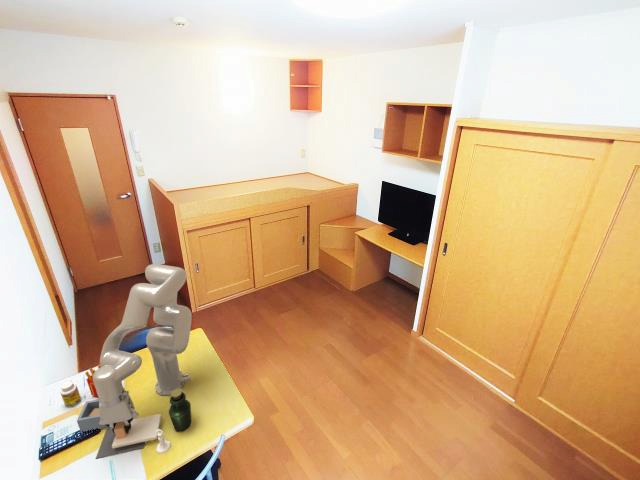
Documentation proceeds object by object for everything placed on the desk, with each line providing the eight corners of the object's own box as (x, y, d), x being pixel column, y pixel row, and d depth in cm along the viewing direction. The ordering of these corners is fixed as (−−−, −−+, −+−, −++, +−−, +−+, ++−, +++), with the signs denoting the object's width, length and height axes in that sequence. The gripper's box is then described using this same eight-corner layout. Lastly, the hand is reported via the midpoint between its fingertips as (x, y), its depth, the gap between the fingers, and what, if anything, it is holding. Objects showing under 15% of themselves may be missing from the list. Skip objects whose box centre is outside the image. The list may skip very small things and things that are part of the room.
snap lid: (161, 416, 129) (158, 405, 126) (156, 438, 120) (153, 427, 118) (120, 424, 125) (117, 413, 122) (112, 448, 116) (108, 437, 114)
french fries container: (108, 401, 137) (101, 377, 132) (91, 397, 139) (82, 373, 133) (121, 388, 143) (114, 365, 138) (104, 385, 145) (96, 361, 140)
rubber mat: (150, 420, 129) (150, 419, 129) (144, 448, 119) (143, 447, 119) (106, 429, 125) (106, 428, 125) (95, 459, 115) (95, 458, 114)
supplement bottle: (64, 410, 132) (57, 392, 129) (65, 400, 137) (59, 383, 133) (81, 404, 135) (74, 386, 131) (81, 394, 140) (75, 377, 136)
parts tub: (127, 406, 135) (124, 394, 132) (121, 425, 127) (117, 413, 124) (90, 413, 131) (85, 401, 129) (81, 433, 123) (76, 421, 121)
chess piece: (159, 441, 121) (155, 423, 117) (172, 440, 122) (168, 422, 118) (154, 454, 117) (149, 436, 113) (167, 453, 117) (163, 435, 113)
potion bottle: (183, 413, 133) (177, 381, 126) (197, 421, 130) (192, 388, 123) (167, 429, 126) (160, 396, 119) (182, 437, 123) (175, 404, 116)
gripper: (139, 384, 119) (148, 418, 126) (90, 392, 115) (102, 427, 122) (134, 400, 112) (144, 435, 119) (82, 410, 108) (95, 445, 115)
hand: (122, 430), depth 120 cm, fingers closed on snap lid, 3 cm apart
